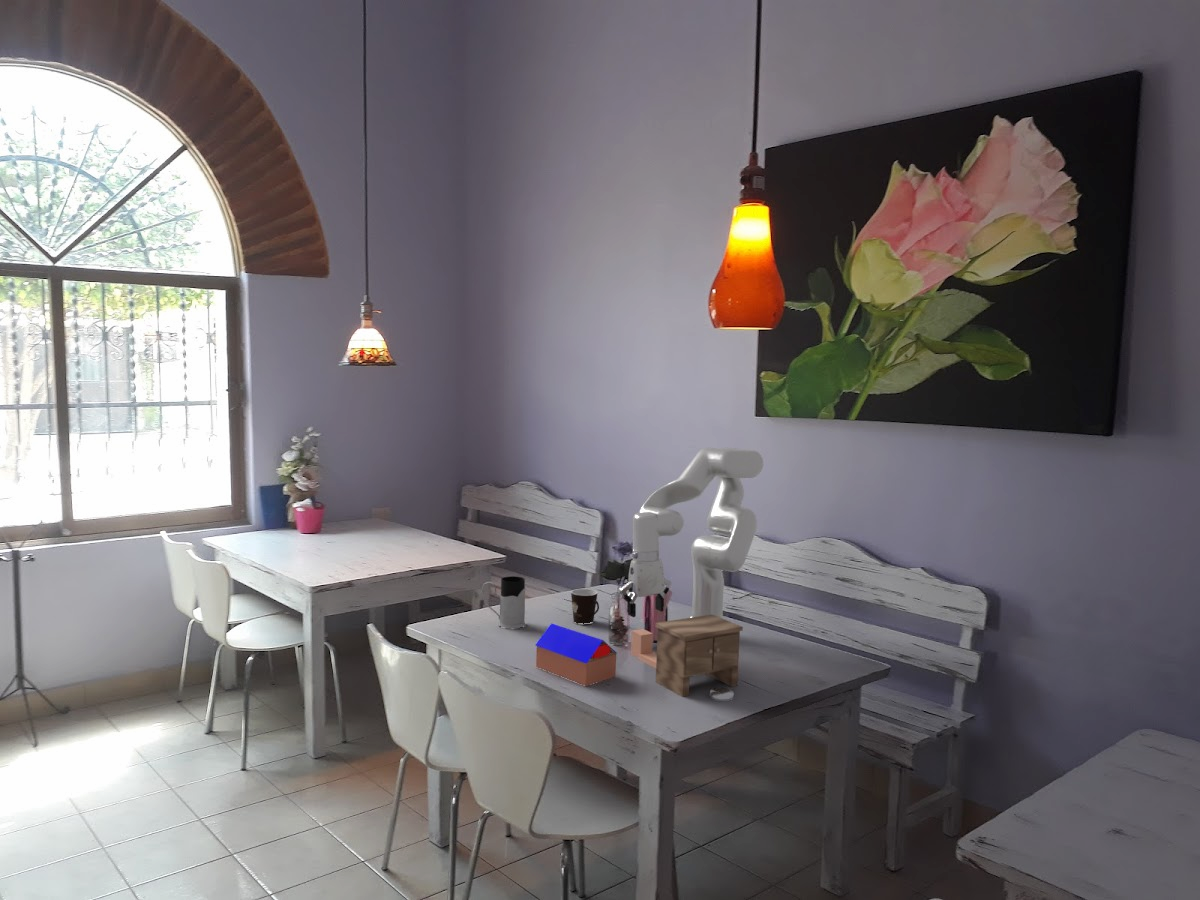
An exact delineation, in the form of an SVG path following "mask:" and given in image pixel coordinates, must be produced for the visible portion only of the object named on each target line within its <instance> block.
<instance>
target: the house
mask: <svg viewBox="0 0 1200 900" xmlns="http://www.w3.org/2000/svg"><path fill="white" fill-rule="evenodd" d="M534 646H536V660H535V661H536V663H535V664H536V665H535V667H538V668H541V669H544V670H546V671H549V672H551V673H554V674H557V675H559V676H562V677H564V678H567V679H569V680H572V681H575V682H577V683H579V684H582V685H585V686H587V685H590V684H593V683H596V682H599V683H601V682H600V681H602V682H604V681H603V680H605V681H607V680H606V679H608V680H610V679H609V678H611V679H613V678H612V677H614V678H616V671H617V670H616V669H617V654H618V652H617V651H616V650H614V649H613V648H612V646H610V645H609V644H608V643H607V642H606V641H605V640H604V639H602V638H601V639H600V638H597V637H594V636H592V635H589V634H585V633H582V632H579V631H576V630H573V629H569V628H567V627H563V626H562V625H561V626H560V625H557V624H554V623H550V625H549V626H548V627H547V629H546V630H545V631H544V633H542V636H541V637H540V638H539V639H538V641H537V642H536V643H535V645H534ZM564 678H563V679H564ZM569 680H568V681H569ZM572 681H571V682H572ZM577 683H576V684H577ZM579 684H578V685H579ZM596 684H597V683H596ZM582 685H581V686H582ZM593 685H594V684H593ZM585 686H584V687H585ZM590 686H591V685H590ZM587 687H588V686H587Z"/></svg>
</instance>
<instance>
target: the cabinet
mask: <svg viewBox="0 0 1200 900" xmlns="http://www.w3.org/2000/svg"><path fill="white" fill-rule="evenodd" d="M654 627H655V628H657V636H656V638H657V640H656V653H657V662H656V668H655V682H656V684H659V685H660V686H663V687H664V688H666V689H668V690H670V691H672V692H673V693H675V694H677V695H679V696H681V697H682V698H683V697H688V696H690V681H691V679H690V678H691V677H694V676H699V675H700V676H701V675H708V676H709V677H711V678H713V679H715V680H717V681H719V682H721V683H723V682H724V683H723V684H725V683H726V684H725V685H727V684H728V685H727V686H729V685H730V686H729V687H731V686H732V687H735V686H734V685H737V686H738V682H739V679H738V678H739V677H738V675H739V657H740V656H739V655H740V654H739V653H740V639H741V638H740V637H741V634H740V632H741V631H744V630H743V628H744V627H743V625H742V626H741V625H739V624H736V623H734V622H732V621H729V620H727V619H724V618H723V617H722V618H719V617H717V616H714V615H705V616H699V617H692V618H690V617H686V618H680V619H674V620H666V621H660V622H659V621H658V622H655V623H654Z"/></svg>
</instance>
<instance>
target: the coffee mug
mask: <svg viewBox="0 0 1200 900" xmlns="http://www.w3.org/2000/svg"><path fill="white" fill-rule="evenodd" d="M570 594H571V605H572V606H571V607H572V616H573V617H572V619H573V623H574V622H576V623H583V624H584V623H590V622H593V623H594V620H595V615H596V614H597V613H598V612H599V610H600V605H599V604H600V603H599V602H598V599H597V598H598V591H597V590H594V589H591V588H589V589H588V588H578V589H577V588H576V589H573V590H571V591H570Z"/></svg>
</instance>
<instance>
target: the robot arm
mask: <svg viewBox="0 0 1200 900" xmlns="http://www.w3.org/2000/svg"><path fill="white" fill-rule="evenodd" d="M763 468H764V460H763V457H762V455H761V454H760V453H759V452H758V451H756V450H751V449H742V448H736V447H735V448H734V447H720V448H716V447H704V448H702V449H700V450H699V451H698V452H697V453H696V455H695V456H694V457H693V458H692V459H691V461H690V463H689V464H688V465H687V466H686V468H685V469H684V470H683V471H682V472H681V474H680V475H679V476H678V478H677V479H675V480H673V481H671V482H669V483H667V484H665V485H663V486H662V487H659V488H658V489H657V490H655V491H654V492H653V493H652V494H650V495H649V497H648V498H647V499H646V500H645V502H644V503H643V504H642V506H641V507H640V508H639V511H638V512H636V513H635V514H633V518H632V552H631V553H630V554H629V558H630V559H632V560H630V565H629V570H628V580H627V581H628V582H627V583H626V584H624V585H623V586H622V587H620V588H619V590H618V591H619V593H620V595H621V597H622V599H623V600H624V601H625V602H626V606H627V607H626V613H627V615H628V616H630V617H632V618H636V613H637V612H636V610H637V604H636V603H635V602H636V600H637V599H638V598H643V597H649V596H655V598H654V599H655V601H654V602H655V610H657V611H659V612H661V613H662V612H663V613H664V606H665V598H666V597H667V594H668V592H669V591H670V588H671V585H672V581H671V580H669V579H667V578H665V573H664V566H663V561H662V558H660V537H670V536H671V537H672V536H675V535H678V534H679V533H680V532H681V531H682V530H683V528H684V523H685V522H684V521H685V520H684V517H683V515H682V514H681V513H680V512H678V511H677V510H674V509H670V507H672V506H674V505H676V504H681V503H685V502H689V501H693V500H696V499H698V498H700V497H701V496H702V494H703V493H704V492H705V490H706V489H707V488H708V486H710V483H711V482H712V481H713V479H714V478H716V479H717V490H716V492H715V496H714V499H713V501H712V504H711V508H710V510H709V513H708V514H707V515H708V516H707V520H706V526H707V529H708V530H709V531H710V532H712V533H715V534H718V535H722V536H727V537H729V539H728V538H723V537H720V536H715V535H706V534H705V535H700V536H698V537H696V538H695V539H694V540H693V542H692V544H691V548H690V555H691V560H692V570H693V571H692V572H693V573H692V574H693V575H692V576H693V578H692V579H693V581H692V582H693V583H692V584H693V585H692V602H691V603H692V605H691V610H692V611H691V616H690V617H689V618H692V617H699V616H705V615H714V616H717V617H719V618H722V619H723V616H724V614H723V613H724V610H723V609H724V591H725V589H724V588H725V579H724V575H723V573H722V571H726V572H730V573H731V572H732V573H734V572H738V571H739V570H741V569H742V567H743V566H744V564H745V562H746V560H747V558H748V554H749V551H750V548H751V546H752V543H753V540H754V537H755V533H756V532H757V526H758V525H757V524H758V523H757V516H756V514H755V513H754V511H753V510H751V509H750V508H748V507H744V506H743V507H742V504H743V503H742V502H743V500H744V497H745V496H744V495H745V489H744V485H743V483H742V481H741V479H753V478H755V477H757V476H759V475H760V473H761V472H762V471H763ZM650 565H651V566H650ZM658 581H659V582H658ZM664 582H665V583H664ZM627 593H628V594H627Z"/></svg>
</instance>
